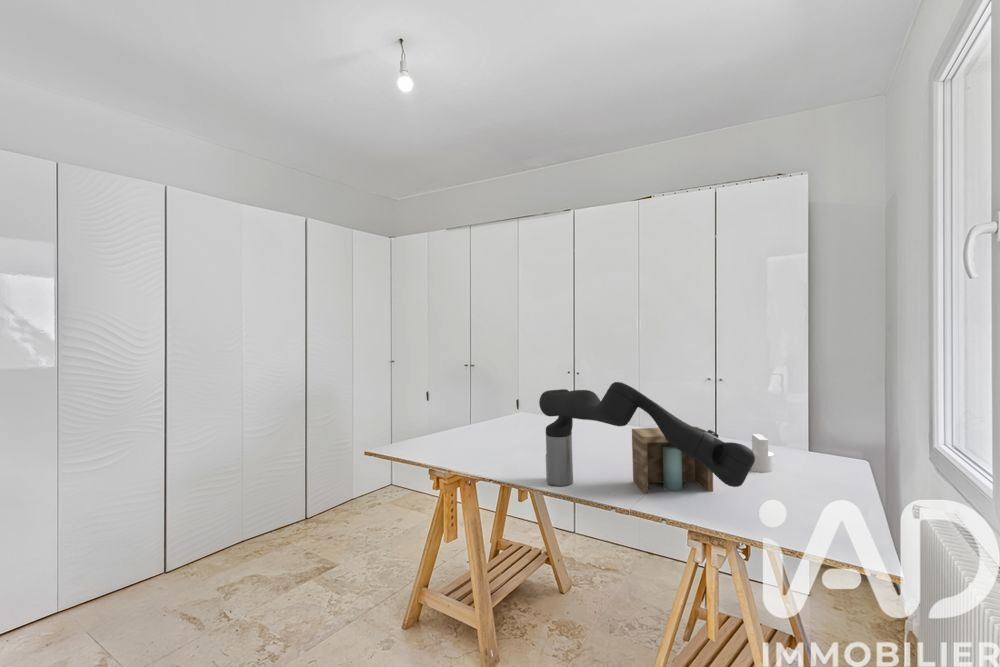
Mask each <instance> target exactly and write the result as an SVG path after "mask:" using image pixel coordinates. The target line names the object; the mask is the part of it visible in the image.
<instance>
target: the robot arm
mask: <svg viewBox="0 0 1000 667" xmlns="http://www.w3.org/2000/svg"><path fill="white" fill-rule="evenodd" d="M538 400H539V403H538V404H539V408H540V411H541V412H542V413H543V414H544V415H545V416H547V417H557V418H556V419H555V421H553V422H552V423H550V424H548V425H547V426H546V427H545V446H546V447H545V452H546V453H545V467H546V468H545V474H546V482H547V485H549V486H556V487H564V486H570V485H571V484H573V483H574V470H573V468H574V467H573V466H574V464H573V437H572V435H573V434H572V430H573V419H577V420H584V421H586V420H587V421H595V422H599V423H603V424H607V425H611V426H615V427H626V426H627V425H628V424H629V423H630V421H631V420H632V418H633V416H634V415H635V413H636V411H637V409H638V408H640V409H641V410H643V411H644V412H646V414H648V415H649V416H650V417H651V419H652V420H653V421H654V423H655V424H656V425H657V428H660V430H661V432H662V433H663V435H664V436H665V440H667V441H668V442H669V443H670V444H671V445H672V446H674V447H675V448H677V449H678V450H680V451H682V452H684V453H685V454H687V455H689V456H691V457H693V458H694V459H696V460H698V461H699V462H701V463H702V464H703V465H705V466H706V467H707V468H708V469H709V470H710V471H712V472H713V475H715V477H716V478H718V479H719V480H720V481H721V482H722V483H723V484H725V485H727V486H729V487H732V488H738V487H741V486H743V484H744V482H745V481H746V479H747V476H748V475H749V473H750V472H751V470H750V469H751V467H752V466H753V464H754V461H755V456H754V453H753V452H752V448H750V447H748V446H746V445H744V444H741V443H738V442H732V441H731V442H730V441H729V442H728V441H727V442H726V441H723V440H721V439H719V434H718V433H717V432H715V431H713V430H711V429H708V430H705V429H702V428H701V429H699V428H700V427H699V428H697V427H698V426H697V427H695V428H694V427H692V425H690V424H688V423H686V422H684V421H683V420H682V419H679V418H678V417H677V416H675V415H674V414H672V413H670V412H669V411H667V409H665V408H663V406H661V405H660V404H658V403H656V402H655V401H653V400H652V399H650V398H649V397H647V396H646V395H645V394H643V393H641V392H640V391H639V390H637V389H635V388H633V387H632V386H630V385H628V384H626V383H624V382H622V381H621V382H619V381H614V382H612V383H611V384H610V385H609V388H608V389H607V390H606V393H605V394H604V396H603V397H602V399H601V400H600V397H599V396H598V395H597V394H596V393H595V392H594V391H592V390H588V389H576V390H575V389H574V390H568V389H565V388H562V389H551V390H546V391H544V392H542V394H541V395H540V398H539V399H538Z"/></svg>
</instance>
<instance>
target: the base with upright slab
mask: <svg viewBox="0 0 1000 667" xmlns="http://www.w3.org/2000/svg"><path fill="white" fill-rule="evenodd" d="M751 444H752V445H751V450H752V452H753V453H754V456H755V461H754V464H753V466H752V467H751V469H750V471H753V472H757V473H766V474H767V473H773V472H775V454H774V452H772V451H769V439H768V438H766V437H765V436H764V435H762V434H761V433H751Z"/></svg>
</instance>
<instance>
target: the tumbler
mask: <svg viewBox="0 0 1000 667" xmlns="http://www.w3.org/2000/svg"><path fill="white" fill-rule="evenodd" d="M662 483H663V489H665V490H667V491H671V492H672V491H673V492H678V491H682V490H683V482H682V455H681V451H680V450H678V449H677V448H675V447H674V446H672V445H663V482H662Z"/></svg>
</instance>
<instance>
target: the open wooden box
mask: <svg viewBox="0 0 1000 667" xmlns="http://www.w3.org/2000/svg"><path fill="white" fill-rule="evenodd" d="M691 426H692V425H691ZM692 427H694V428H695V427H697V428H699V429H702V428H700V427H699V426H695V425H694V426H692ZM663 445H671V444H670V443H669V442H668V441H667V440H665V436H664V435H663V433H662V432H661V430H660V428H659V427H645V428H643V427H642V428H640V427H639V428H631V447H632V448H631V449H632V450H631V451H632V482H633V483H634V485H635V486H636V487H637V488H638V489H639V491H640V492H641V493H642V494H643V495H649V484H652V483H653V484H654V483H658V484H659V483H663ZM681 455H682V483H683V482H696V483H697V484H699V485H700V486H701V487H702V488H703V489H705V490H706V491H707V492H709V493H711V492H714V473H713V472H712V471H710V470H709V469H708V468H707V467H706V466H705V465H703V464H702V463H701V462H699V461H698V460H696V459H694V458H693V457H691V456H689V455H687V454H685V453H684V452H682V451H681Z"/></svg>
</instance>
